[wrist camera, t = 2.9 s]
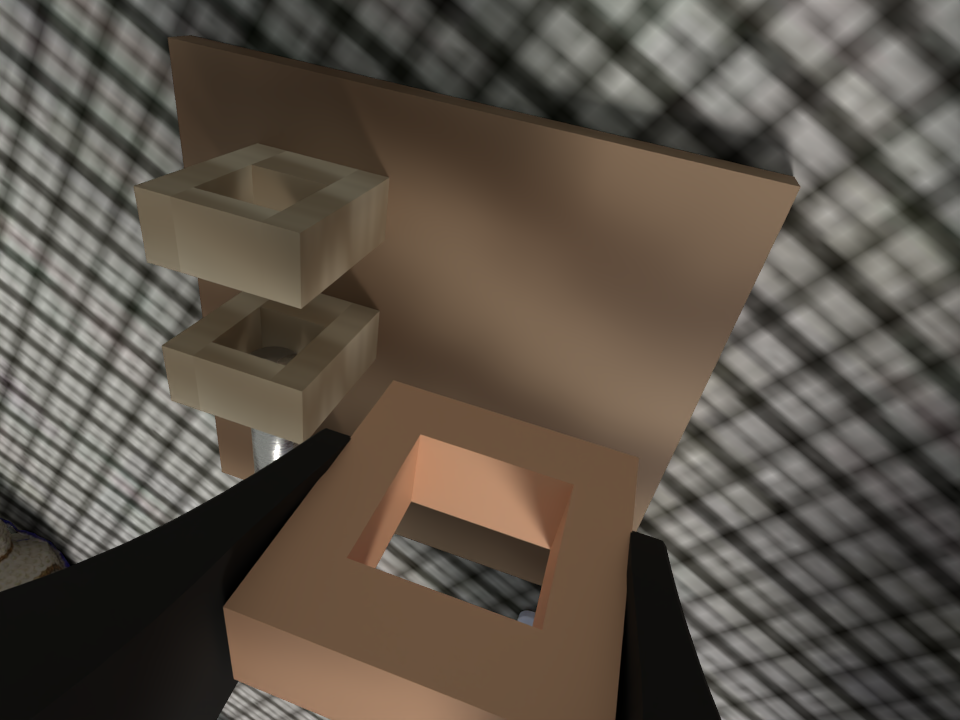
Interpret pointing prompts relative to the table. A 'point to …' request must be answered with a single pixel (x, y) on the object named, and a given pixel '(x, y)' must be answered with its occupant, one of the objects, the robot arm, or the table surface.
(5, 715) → the robot arm
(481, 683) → the spacer
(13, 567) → the decorative bottle
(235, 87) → the cradle
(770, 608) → the table surface
